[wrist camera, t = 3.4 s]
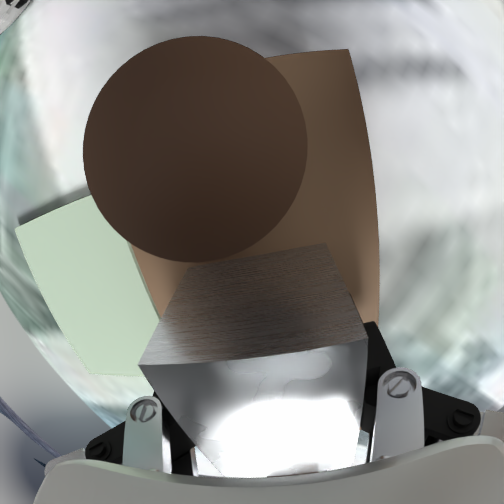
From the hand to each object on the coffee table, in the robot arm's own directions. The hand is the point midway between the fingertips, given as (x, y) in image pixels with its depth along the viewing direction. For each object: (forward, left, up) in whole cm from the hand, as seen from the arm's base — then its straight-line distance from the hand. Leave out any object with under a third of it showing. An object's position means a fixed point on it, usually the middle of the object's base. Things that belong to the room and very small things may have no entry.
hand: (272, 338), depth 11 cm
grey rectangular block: (0, 0, 0) cm, 0 cm away
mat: (+12, 0, -5) cm, 14 cm away
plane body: (0, 0, -5) cm, 5 cm away
